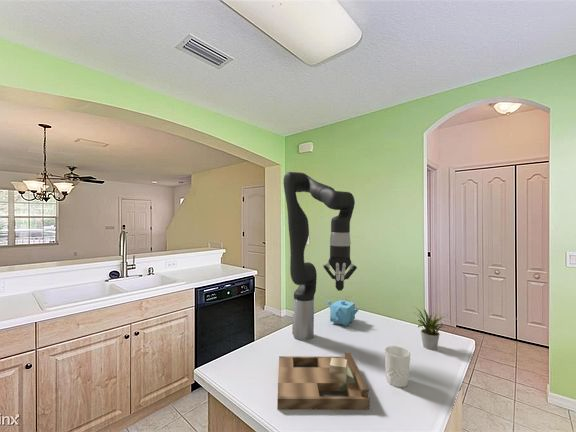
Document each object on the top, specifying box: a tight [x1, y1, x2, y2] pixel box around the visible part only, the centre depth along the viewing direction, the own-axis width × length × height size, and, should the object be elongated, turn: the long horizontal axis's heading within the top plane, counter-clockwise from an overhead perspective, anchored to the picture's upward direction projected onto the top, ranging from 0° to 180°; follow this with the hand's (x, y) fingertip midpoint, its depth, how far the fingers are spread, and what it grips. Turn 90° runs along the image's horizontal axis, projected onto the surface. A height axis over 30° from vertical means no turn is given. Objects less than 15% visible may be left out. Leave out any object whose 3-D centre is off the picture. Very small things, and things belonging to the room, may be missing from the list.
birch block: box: [330, 356, 347, 384], centre depth 90 cm, size 5×5×5 cm
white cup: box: [384, 345, 411, 388], centre depth 93 cm, size 8×8×10 cm
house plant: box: [413, 306, 447, 351], centre depth 119 cm, size 14×14×16 cm
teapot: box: [325, 299, 360, 328], centre depth 145 cm, size 16×18×11 cm
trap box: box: [276, 352, 370, 410], centre depth 91 cm, size 26×24×5 cm
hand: (339, 290), depth 106 cm, fingers closed
